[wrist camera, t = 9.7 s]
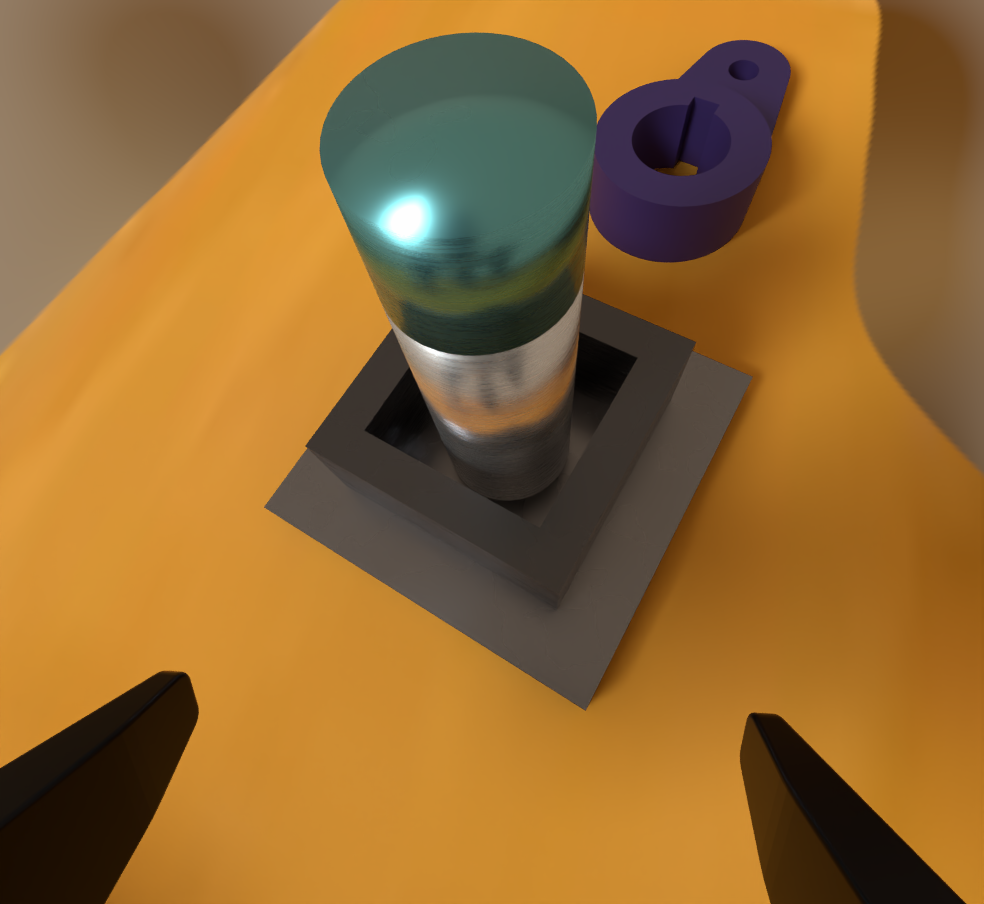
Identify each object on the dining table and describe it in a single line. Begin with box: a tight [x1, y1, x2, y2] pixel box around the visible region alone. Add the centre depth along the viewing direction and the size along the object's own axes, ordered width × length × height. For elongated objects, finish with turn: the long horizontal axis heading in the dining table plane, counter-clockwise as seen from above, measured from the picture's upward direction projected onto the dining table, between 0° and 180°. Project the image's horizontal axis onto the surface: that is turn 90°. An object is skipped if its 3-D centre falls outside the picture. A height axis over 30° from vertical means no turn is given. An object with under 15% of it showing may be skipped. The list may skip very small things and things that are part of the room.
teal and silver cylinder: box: [320, 33, 597, 501], centre depth 14 cm, size 4×4×12 cm
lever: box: [590, 40, 791, 262], centre depth 23 cm, size 12×6×3 cm, turn 148°
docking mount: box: [264, 294, 752, 711], centre depth 18 cm, size 12×12×4 cm
